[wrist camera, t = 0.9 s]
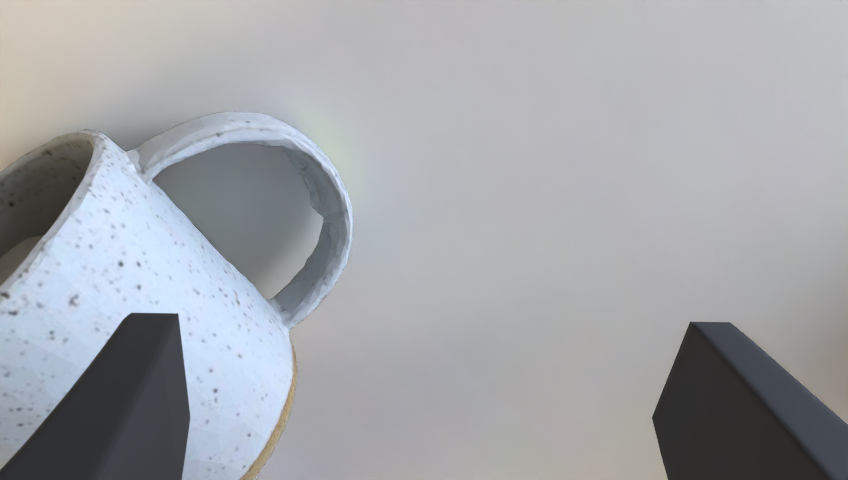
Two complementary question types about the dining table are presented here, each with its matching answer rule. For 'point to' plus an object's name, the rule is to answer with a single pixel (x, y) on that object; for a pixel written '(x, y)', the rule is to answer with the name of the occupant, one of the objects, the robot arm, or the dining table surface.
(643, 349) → the dining table surface
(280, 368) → the ceramic mug
